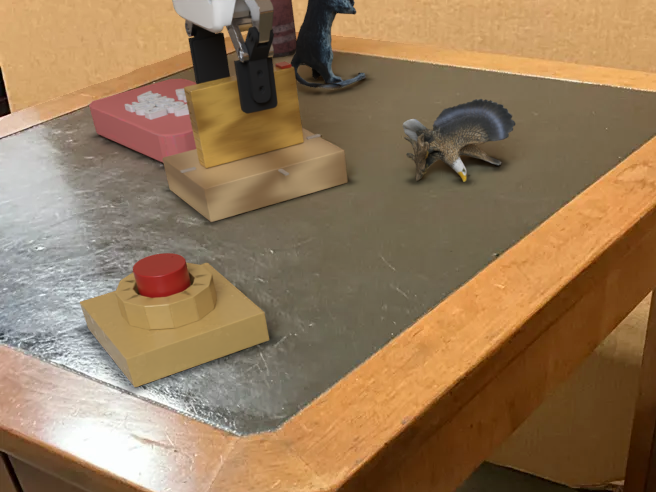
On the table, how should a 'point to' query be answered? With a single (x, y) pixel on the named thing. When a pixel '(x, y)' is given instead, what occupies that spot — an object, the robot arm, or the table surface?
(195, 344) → the switch
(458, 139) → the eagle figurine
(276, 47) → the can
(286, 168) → the stand
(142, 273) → the button
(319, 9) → the sculpture
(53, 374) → the table surface
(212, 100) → the wooden block
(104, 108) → the plaque
